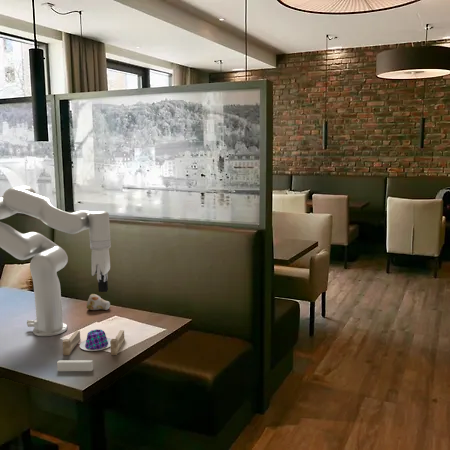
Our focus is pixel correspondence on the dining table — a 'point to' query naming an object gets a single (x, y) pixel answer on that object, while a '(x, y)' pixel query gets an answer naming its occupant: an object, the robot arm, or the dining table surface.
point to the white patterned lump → (97, 303)
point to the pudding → (95, 341)
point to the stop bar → (75, 365)
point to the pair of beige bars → (75, 338)
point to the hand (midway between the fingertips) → (103, 291)
